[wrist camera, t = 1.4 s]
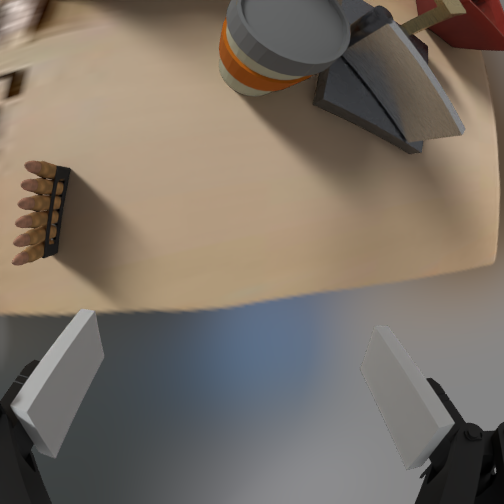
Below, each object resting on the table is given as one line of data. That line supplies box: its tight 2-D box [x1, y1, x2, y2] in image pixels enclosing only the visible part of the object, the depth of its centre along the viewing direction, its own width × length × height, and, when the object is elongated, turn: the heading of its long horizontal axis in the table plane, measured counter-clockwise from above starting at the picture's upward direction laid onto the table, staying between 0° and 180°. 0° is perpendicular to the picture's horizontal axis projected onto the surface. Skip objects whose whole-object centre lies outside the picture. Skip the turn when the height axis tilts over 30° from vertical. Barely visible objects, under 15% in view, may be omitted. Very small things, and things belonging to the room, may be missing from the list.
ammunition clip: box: [12, 161, 70, 265], centre depth 26 cm, size 11×2×12 cm, turn 168°
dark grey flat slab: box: [313, 0, 428, 154], centre depth 40 cm, size 20×24×3 cm
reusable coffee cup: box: [219, 0, 351, 96], centre depth 29 cm, size 13×13×15 cm
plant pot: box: [416, 0, 504, 51], centre depth 37 cm, size 19×19×17 cm
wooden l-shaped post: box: [401, 0, 466, 35], centre depth 34 cm, size 3×7×16 cm, turn 121°
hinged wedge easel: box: [342, 6, 465, 143], centre depth 33 cm, size 20×3×11 cm, turn 46°
